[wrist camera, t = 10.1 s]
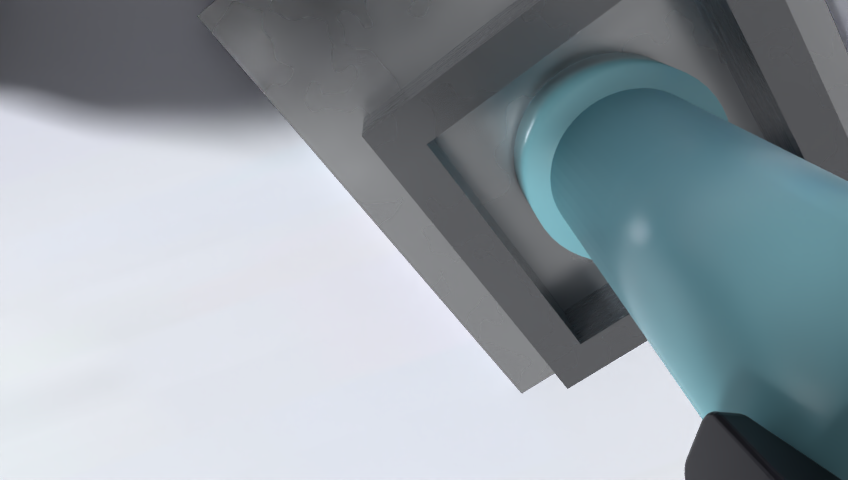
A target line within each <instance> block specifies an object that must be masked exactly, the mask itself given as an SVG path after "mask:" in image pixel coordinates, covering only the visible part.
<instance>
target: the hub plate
mask: <svg viewBox="0 0 848 480" xmlns="http://www.w3.org/2000/svg"><path fill="white" fill-rule="evenodd" d="M197 17H198V18H199V19H200V20H201V21H202V23H203V24H204V25H205V26H206V27H207V28H208V30H209V31H210V32H211V33H212V34H213V35H214V37H215V38H216V39H217V40H218V41H219V42H220V44H221V45H222V46H223V47H224V48H225V49H226V50H227V52H228V53H229V54H230V55H231V56H232V57H233V59H234V60H235V61H236V62H237V63H238V64H239V66H240V67H241V68H242V69H243V70H244V71H245V73H246V74H247V75H248V76H249V77H250V78H251V80H252V81H253V82H254V83H255V84H256V85H257V86H258V88H259V89H260V90H261V91H262V92H263V93H264V95H265V96H266V97H267V98H268V99H269V100H270V102H271V103H272V104H273V105H274V106H275V107H276V109H277V110H278V111H279V112H280V113H281V114H282V116H283V117H284V118H285V119H286V120H287V121H288V123H289V124H290V125H291V126H292V127H293V128H294V129H295V131H296V132H297V133H298V134H299V135H300V136H301V138H302V139H303V140H304V141H305V142H306V143H307V145H308V146H309V147H310V148H311V149H312V150H313V152H314V153H315V154H316V155H317V156H318V157H319V159H320V160H321V161H322V162H323V163H324V164H325V165H326V167H327V168H328V169H329V170H330V171H331V172H332V174H333V175H334V176H335V177H336V178H337V179H338V181H339V182H340V183H341V184H342V185H343V186H344V188H345V189H346V190H347V191H348V192H349V193H350V195H351V196H352V197H353V198H354V199H355V200H356V202H357V203H358V204H359V205H360V206H361V207H362V208H363V210H364V211H365V212H366V213H367V214H368V215H369V217H370V218H371V219H372V220H373V221H374V222H375V224H376V225H377V226H378V227H379V228H380V229H381V231H382V232H383V233H384V234H385V235H386V236H387V238H388V239H389V240H390V241H391V242H392V243H393V245H394V246H395V247H396V248H397V249H398V250H399V251H400V253H401V254H402V255H403V256H404V257H405V258H406V260H407V261H408V262H409V263H410V264H411V265H412V267H413V268H414V269H415V270H416V271H417V272H418V274H419V275H420V276H421V277H422V278H423V279H424V281H425V282H426V283H427V284H428V285H429V286H430V287H431V289H432V290H433V291H434V292H435V293H436V294H437V296H438V297H439V298H440V299H441V300H442V301H443V303H444V304H445V305H446V306H447V307H448V308H449V310H450V311H451V312H452V313H453V314H454V315H455V317H456V318H457V319H458V320H459V321H460V322H461V324H462V325H463V326H464V327H465V328H466V329H467V330H468V332H469V333H470V334H471V335H472V336H473V337H474V339H475V340H476V341H477V342H478V343H479V344H480V346H481V347H482V348H483V349H484V350H485V351H486V353H487V354H488V355H489V356H490V357H491V358H492V360H493V361H494V362H495V363H496V364H497V365H498V366H499V368H500V369H501V370H502V371H503V372H504V373H505V375H506V376H507V377H508V378H509V379H510V380H511V382H512V383H513V384H514V385H515V386H516V387H517V389H518V390H519V391H520V392H521V393H523V392H525V391H527V390H528V389H530V388H531V387H533V386H535V385H536V384H538V383H540V382H541V381H543V380H544V379H546V378H548V377H549V376H551V375H553V374H554V373H555V374H556V375H557V376H558V378H559V379H560V380H561V381H562V382H563V384H564V385H565V386H566V387H567V389H568V388H570V387H571V386H573V385H575V384H576V383H578V382H580V381H581V380H583V379H585V378H586V377H588V376H590V375H591V374H593V373H595V372H596V371H598V370H599V369H601V368H603V367H604V366H606V365H608V364H609V363H611V362H613V361H614V360H616V359H618V358H619V357H621V356H623V355H624V354H626V353H628V352H629V351H631V350H633V349H634V348H636V347H637V346H639V345H641V344H642V343H644V342H646V341H647V338H646V337H645V336H644V334H643V333H642V331H641V330H640V328H639V327H638V325H637V324H636V322H635V321H634V320H633V318H632V317H631V315H630V314H629V312H628V311H627V309H626V308H625V307H624V305H623V304H622V302H621V301H620V299H619V298H618V296H617V295H616V294H615V292H614V291H613V289H612V288H611V286H610V285H609V283H608V282H607V280H606V279H605V278H604V276H603V275H602V273H601V272H600V270H599V269H598V267H597V266H596V265H595V263H594V262H593V260H592V259H589V258H586V257H582V256H580V255H577V254H575V253H573V252H571V251H569V250H567V249H566V248H564V247H563V246H561V245H560V244H559V243H558V242H556V241H555V240H554V239H553V238H552V237H551V236H550V235H549V234H548V233H547V231H546V230H545V229H544V228H543V226H542V224H541V223H540V221H539V220H538V218H537V216H536V215H535V213H534V211H533V210H532V208H531V206H530V205H529V203H528V201H527V200H526V198H525V196H524V194H523V193H522V190H521V188H520V186H519V183H518V180H517V176H516V173H515V165H514V146H515V139H516V134H517V131H518V127H519V124H520V122H521V119H522V117H523V114H524V112H525V111H526V109H527V107H528V105H529V104H530V102H531V101H532V99H533V98H534V97H535V95H536V94H537V92H538V91H539V90H540V89H541V88H542V87H543V86H544V85H545V84H546V83H547V82H548V81H549V80H550V79H551V78H553V77H554V76H555V75H556V74H557V73H559V72H560V71H562V70H563V69H565V68H566V67H568V66H570V65H572V64H574V63H576V62H578V61H580V60H582V59H585V58H588V57H591V56H594V55H599V54H604V53H615V52H624V53H634V54H638V55H643V56H646V57H649V58H651V59H654V60H656V61H659V62H661V63H664V64H666V65H669V66H671V67H674V68H676V69H678V70H681V71H683V72H686V73H688V74H689V75H691V76H693V77H695V78H696V79H698V80H699V81H700V82H702V83H703V84H704V85H705V86H707V87H708V88H709V89H710V91H711V92H712V93H713V94H714V95H715V96H716V97H717V99H718V101H719V102H720V104H721V105H722V107H723V109H724V111H725V114H726V116H727V118H728V122H730V123H732V124H734V125H736V126H738V127H740V128H742V129H744V130H746V131H748V132H750V133H752V134H754V135H756V136H758V137H760V138H762V139H764V140H766V141H768V142H770V143H772V144H774V145H776V146H778V147H780V148H782V149H784V150H786V151H788V152H790V153H792V154H794V155H796V156H798V157H800V158H802V159H804V160H806V161H808V162H810V163H812V164H814V165H816V166H818V167H820V168H822V169H824V170H826V171H828V172H830V173H832V174H834V175H836V176H838V177H840V178H842V179H844V180H846V181H848V53H847V51H846V48H845V46H844V44H843V41H842V39H841V37H840V34H839V32H838V30H837V27H836V25H835V22H834V20H833V18H832V15H831V13H830V11H829V8H828V6H827V4H826V1H825V0H215V1H214V2H213V3H212V4H210V5H209V6H208V7H207V8H206V9H205V10H204V11H202V12H201V13H200V14H199V15H198V16H197Z"/></svg>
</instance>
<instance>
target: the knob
mask: <svg viewBox="0 0 848 480" xmlns="http://www.w3.org/2000/svg"><path fill="white" fill-rule="evenodd" d="M514 165H515V173H516V176H517V180H518V183H519V186H520V188H521V190H522V193H523V194H524V196H525V198H526V200H527V201H528V203H529V205H530V206H531V208H532V210H533V211H534V213H535V215H536V216H537V218H538V220H539V221H540V223H541V224H542V226H543V228H544V229H545V230H546V231H547V233H548V234H549V235H550V236H551V237H552V238H553V239H554V240H555V241H556V242H558V243H559V244H560V245H561V246H563V247H564V248H566V249H567V250H569V251H571V252H573V253H575V254H577V255H580V256H582V257H586V258H589V259H592V260H593V262H594V263H595V265H596V266H597V267H598V269H599V270H600V272H601V273H602V275H603V276H604V278H605V279H606V280H607V282H608V283H609V285H610V286H611V288H612V289H613V291H614V292H615V294H616V295H617V296H618V298H619V299H620V301H621V302H622V304H623V305H624V307H625V308H626V309H627V311H628V312H629V314H630V315H631V317H632V318H633V320H634V321H635V322H636V324H637V325H638V327H639V328H640V330H641V331H642V333H643V334H644V336H645V337H646V338H647V340H648V341H649V343H650V344H651V346H652V347H653V349H654V350H655V351H656V353H657V354H658V356H659V357H660V359H661V360H662V362H663V363H664V364H665V366H666V367H667V369H668V370H669V372H670V373H671V375H672V376H673V377H674V379H675V380H676V382H677V383H678V385H679V386H680V388H681V389H682V391H683V392H684V393H685V395H686V396H687V398H688V399H689V401H690V402H691V404H692V405H693V406H694V408H695V409H696V411H697V412H698V414H699V415H700V417H701V418H702V419H703V418H704V417H705V416H706V415H707V414H708V413H710V412H713V411H719V412H730V413H740V414H743V415H746V416H747V417H749V418H751V419H752V420H754V421H755V422H757V423H758V424H760V425H761V426H763V427H764V428H766V429H767V430H768V431H770V432H771V433H773V434H774V435H776V436H777V437H779V438H780V439H782V440H783V441H785V442H786V443H788V444H789V445H791V446H792V447H794V448H795V449H797V450H798V451H800V452H801V453H803V454H804V455H806V456H807V457H809V458H810V459H812V460H813V461H815V462H816V463H818V464H819V465H821V466H822V467H824V468H825V469H827V470H828V471H830V472H831V473H833V474H834V475H836V476H837V477H839V478H840V479H841V480H848V181H846V180H844V179H842V178H840V177H838V176H836V175H834V174H832V173H830V172H828V171H826V170H824V169H822V168H820V167H818V166H816V165H814V164H812V163H810V162H808V161H806V160H804V159H802V158H800V157H798V156H796V155H794V154H792V153H790V152H788V151H786V150H784V149H782V148H780V147H778V146H776V145H774V144H772V143H770V142H768V141H766V140H764V139H762V138H760V137H758V136H756V135H754V134H752V133H750V132H748V131H746V130H744V129H742V128H740V127H738V126H736V125H734V124H732V123H730V122H728V118H727V116H726V114H725V111H724V109H723V107H722V105H721V104H720V102H719V101H718V99H717V97H716V96H715V95H714V94H713V93H712V92H711V91H710V89H709V88H708V87H707V86H705V85H704V84H703V83H702V82H700V81H699V80H698V79H696V78H695V77H693V76H691V75H689V74H688V73H686V72H683V71H681V70H678V69H676V68H674V67H671V66H669V65H666V64H664V63H661V62H659V61H656V60H654V59H651V58H649V57H646V56H643V55H638V54H634V53H624V52H615V53H604V54H599V55H594V56H591V57H588V58H585V59H582V60H580V61H578V62H576V63H574V64H572V65H570V66H568V67H566V68H565V69H563V70H562V71H560V72H559V73H557V74H556V75H555V76H554V77H553V78H551V79H550V80H549V81H548V82H547V83H546V84H545V85H544V86H543V87H542V88H541V89H540V90H539V91H538V92H537V94H536V95H535V97H534V98H533V99H532V101H531V102H530V104H529V105H528V107H527V109H526V111H525V112H524V114H523V117H522V119H521V122H520V124H519V127H518V131H517V134H516V139H515V146H514Z"/></svg>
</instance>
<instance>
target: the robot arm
mask: <svg viewBox="0 0 848 480" xmlns="http://www.w3.org/2000/svg"><path fill="white" fill-rule="evenodd" d="M685 480H841V479H840V478H839V477H837V476H836V475H834V474H833V473H831V472H830V471H828V470H827V469H825V468H824V467H822V466H821V465H819V464H818V463H816V462H815V461H813V460H812V459H810V458H809V457H807V456H806V455H804V454H803V453H801V452H800V451H798V450H797V449H795V448H794V447H792V446H791V445H789V444H788V443H786V442H785V441H783V440H782V439H780V438H779V437H777V436H776V435H774V434H773V433H771V432H770V431H768V430H767V429H766V428H764V427H763V426H761V425H760V424H758V423H757V422H755V421H754V420H752V419H751V418H749V417H747V416H746V415H743V414H740V413H730V412H719V411H713V412H710V413H708V414H707V415H706V416H705V417H704V418H703V420H702V422H701V425H700V427H699V430H698V432H697V434H696V437H695V439H694V442H693V444H692V447H691V449H690V452H689V454H688V457H687V459H686V463H685Z"/></svg>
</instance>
